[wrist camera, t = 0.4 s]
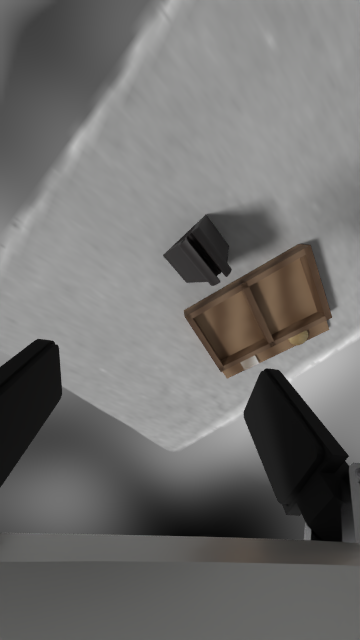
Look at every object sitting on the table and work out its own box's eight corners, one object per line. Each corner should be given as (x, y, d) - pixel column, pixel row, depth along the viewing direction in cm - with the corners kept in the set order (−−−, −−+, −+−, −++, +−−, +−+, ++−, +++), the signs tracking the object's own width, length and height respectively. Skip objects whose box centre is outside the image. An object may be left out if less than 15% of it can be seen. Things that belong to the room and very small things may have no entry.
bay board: (298, 244, 32) (310, 244, 29) (325, 327, 38) (337, 334, 35) (183, 310, 36) (184, 316, 33) (225, 375, 42) (229, 385, 39)
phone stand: (205, 214, 29) (225, 202, 18) (228, 246, 31) (257, 251, 20) (162, 254, 32) (157, 265, 21) (186, 282, 34) (192, 304, 23)
